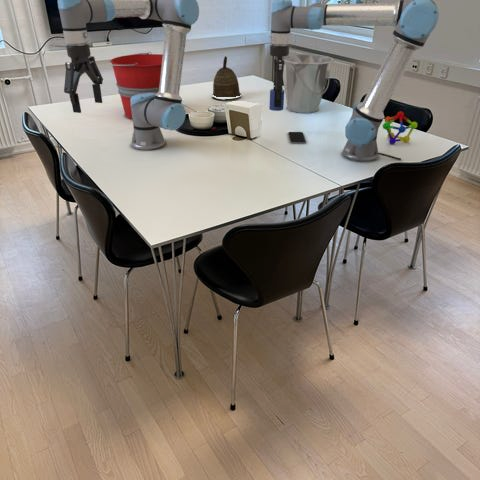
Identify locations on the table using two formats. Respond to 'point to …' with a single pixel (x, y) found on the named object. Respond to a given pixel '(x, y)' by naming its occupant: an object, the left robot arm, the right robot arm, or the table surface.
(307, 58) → the bucket
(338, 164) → the table surface
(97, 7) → the left robot arm
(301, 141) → the smartphone
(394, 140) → the educational toy
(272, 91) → the can
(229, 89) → the bell
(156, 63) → the bucket
